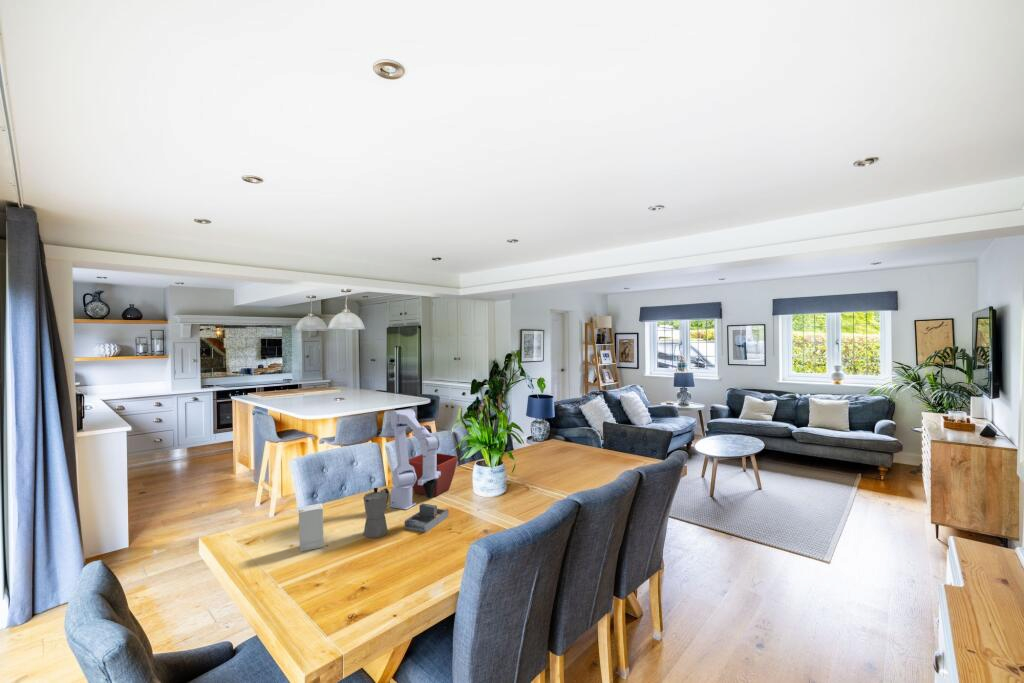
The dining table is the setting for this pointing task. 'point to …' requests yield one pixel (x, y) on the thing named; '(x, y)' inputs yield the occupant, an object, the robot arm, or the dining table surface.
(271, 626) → the dining table surface
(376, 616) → the dining table surface
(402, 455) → the robot arm
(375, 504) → the coffeepot
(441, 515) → the rack
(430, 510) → the block
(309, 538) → the skincare box
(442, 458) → the plant pot
